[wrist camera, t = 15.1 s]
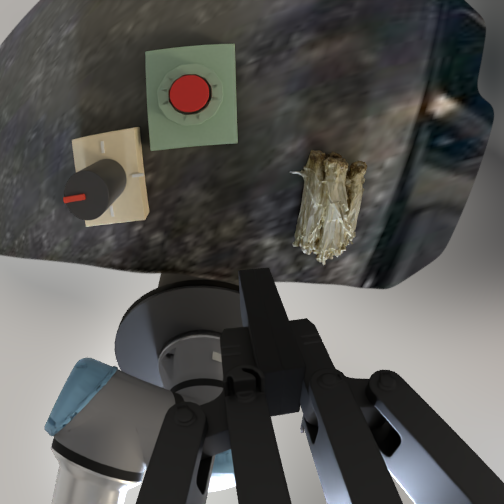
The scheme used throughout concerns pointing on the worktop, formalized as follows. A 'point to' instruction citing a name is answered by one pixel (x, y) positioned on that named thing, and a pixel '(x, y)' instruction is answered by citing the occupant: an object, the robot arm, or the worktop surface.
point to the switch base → (205, 119)
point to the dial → (94, 189)
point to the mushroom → (328, 204)
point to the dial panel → (130, 158)
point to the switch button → (189, 93)
